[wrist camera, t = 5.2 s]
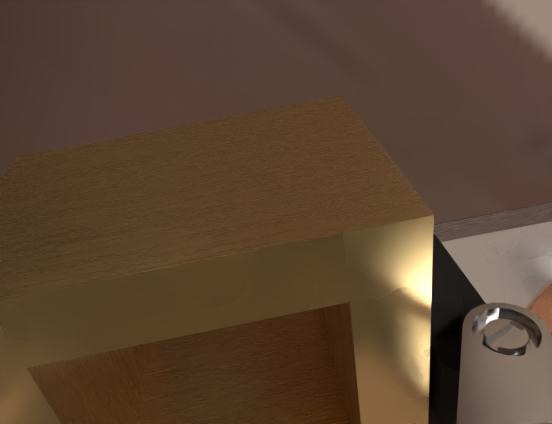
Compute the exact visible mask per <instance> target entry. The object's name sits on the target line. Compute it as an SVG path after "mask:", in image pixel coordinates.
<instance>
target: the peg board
mask: <svg viewBox="0 0 552 424" xmlns="http://www.w3.org/2000/svg"><path fill="white" fill-rule="evenodd" d="M433 233H434V234H435V235H436V236H437V238H438V239H439V240H440V242H441V243H442V244H443V246H444V247H445V248H446V250H447V251H448V253H449V254H450V255H451V257H452V258H453V259H454V261H455V262H456V263H457V265H458V266H459V267H460V269H461V270H462V272H463V273H464V274H465V276H466V277H467V278H468V280H469V281H470V282H471V284H472V285H473V287H474V288H475V289H476V291H477V292H478V293H479V295H480V296H481V297H482V299H483V300H484V302H485V303H486V304H488V303H508V304H513V305H517V306H520V307H523V308H525V309H527V310H529V311H531V312H533V313H534V314H536V315H537V316H538V317H540V318H541V319H542V320H543V321H544V322H545V324H546V325H547V326H548V327H549V330H550V332H551V335H552V203H547V204H542V205H537V206H531V207H526V208H521V209H515V210H510V211H505V212H499V213H494V214H489V215H483V216H478V217H473V218H467V219H462V220H457V221H451V222H446V223H441V224H435V225H433Z"/></svg>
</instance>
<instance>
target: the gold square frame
mask: <svg viewBox="0 0 552 424" xmlns="http://www.w3.org/2000/svg"><path fill="white" fill-rule="evenodd" d="M433 222H434V215H433V213H432V212H431V211H430V210H429V208H428V207H427V206H426V204H425V203H424V202H423V201H422V199H421V198H420V197H419V195H418V194H417V193H416V192H415V190H414V189H413V188H412V186H411V185H410V184H409V183H408V181H407V180H406V179H405V177H404V176H403V175H402V174H401V172H400V171H399V170H398V168H397V167H396V166H395V165H394V163H393V162H392V161H391V159H390V158H389V157H388V156H387V154H386V153H385V152H384V150H383V149H382V148H381V147H380V145H379V144H378V143H377V142H376V140H375V139H374V138H373V136H372V135H371V134H370V133H369V131H368V130H367V129H366V127H365V126H364V125H363V124H362V122H361V121H360V120H359V118H358V117H357V116H356V115H355V113H354V112H353V111H352V109H351V108H350V107H349V106H348V104H347V103H346V102H345V100H344V99H343V98H342V97H341V96H336V97H331V98H325V99H320V100H315V101H310V102H304V103H299V104H294V105H289V106H283V107H278V108H273V109H268V110H262V111H257V112H252V113H247V114H241V115H236V116H231V117H226V118H220V119H215V120H210V121H205V122H199V123H194V124H189V125H184V126H178V127H173V128H168V129H163V130H157V131H152V132H147V133H142V134H136V135H131V136H126V137H121V138H115V139H110V140H105V141H100V142H95V143H89V144H84V145H79V146H74V147H68V148H63V149H58V150H53V151H47V152H42V153H37V154H32V155H26V156H21V157H18V158H17V160H16V161H15V162H14V163H13V165H12V166H11V167H10V169H9V170H8V171H7V173H6V174H5V175H4V176H3V178H2V179H1V180H0V424H428V413H429V375H430V336H431V298H432V260H433Z"/></svg>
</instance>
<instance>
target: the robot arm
mask: <svg viewBox="0 0 552 424" xmlns="http://www.w3.org/2000/svg"><path fill="white" fill-rule="evenodd" d="M428 424H552V335H551V332H550V330H549V327H548V326H547V325H546V324H545V322H544V321H543V320H542V319H541V318H540V317H538V316H537V315H536V314H534V313H533V312H531V311H529V310H527V309H525V308H523V307H520V306H517V305H513V304H508V303H488V304H486V303H485V302H484V300H483V299H482V297H481V296H480V295H479V293H478V292H477V291H476V289H475V288H474V287H473V285H472V284H471V282H470V281H469V280H468V278H467V277H466V276H465V274H464V273H463V272H462V270H461V269H460V267H459V266H458V265H457V263H456V262H455V261H454V259H453V258H452V257H451V255H450V254H449V253H448V251H447V250H446V248H445V247H444V246H443V244H442V243H441V242H440V240H439V239H438V238H437V236H436V235H435V234H434V233H433V260H432V298H431V336H430V375H429V413H428Z"/></svg>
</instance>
